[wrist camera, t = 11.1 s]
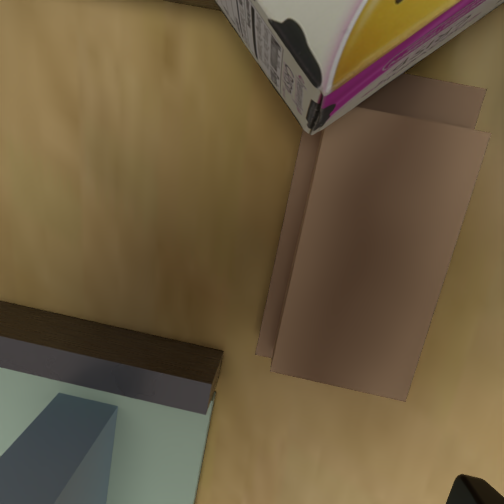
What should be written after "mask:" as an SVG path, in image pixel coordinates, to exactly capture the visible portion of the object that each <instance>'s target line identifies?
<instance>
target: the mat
mask: <svg viewBox="0 0 504 504" xmlns="http://www.w3.org/2000/svg"><path fill="white" fill-rule="evenodd" d="M58 393H63V394H67V395H72V396H76V397H81V398H85V399H89V400H94V401H98V402H102V403H107V404H111V405H115V406H118V411H117V419H116V427H115V436H114V444H113V452H112V460H111V468H110V476H109V484H108V492H107V501H106V504H194V503H195V498H196V493H197V488H198V483H199V477H200V472H201V467H202V462H203V456H204V451H205V446H206V441H207V435H208V430H209V425H210V420H211V415H212V409H213V404H214V399H215V394H216V392H214V393H213V396H212V399H211V402H210V405H209V408H208V411H207V414H206V415H203V414H199V413H195V412H190V411H186V410H182V409H178V408H173V407H169V406H165V405H160V404H156V403H152V402H147V401H143V400H139V399H134V398H130V397H126V396H122V395H117V394H113V393H109V392H104V391H100V390H96V389H91V388H87V387H83V386H78V385H74V384H70V383H66V382H61V381H57V380H53V379H48V378H44V377H40V376H35V375H31V374H27V373H22V372H18V371H14V370H10V369H5V368H1V367H0V457H1V456H2V455H3V453H4V452H5V451H6V450H7V449H8V448H9V447H10V446H11V445H12V444H13V442H14V441H15V440H16V439H17V438H18V437H19V436H20V435H21V434H22V433H23V431H24V430H25V429H26V428H27V427H28V426H29V425H30V424H31V423H32V422H33V421H34V419H35V418H36V417H37V416H38V415H39V414H40V413H41V412H42V411H43V410H44V408H45V407H46V406H47V405H48V404H49V403H50V402H51V401H52V400H53V399H54V398H55V396H56V395H57V394H58Z"/></svg>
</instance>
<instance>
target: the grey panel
mask: <svg viewBox="0 0 504 504" xmlns="http://www.w3.org/2000/svg"><path fill="white" fill-rule="evenodd" d="M117 411H118V406H115V405H111V404H107V403H102V402H98V401H94V400H89V399H85V398H81V397H76V396H72V395H67V394H63V393H58V394H57V395H56V396H55V398H54V399H53V400H52V401H51V402H50V403H49V404H48V405H47V406H46V407H45V408H44V410H43V411H42V412H41V413H40V414H39V415H38V416H37V417H36V418H35V419H34V421H33V422H32V423H31V424H30V425H29V426H28V427H27V428H26V429H25V430H24V431H23V433H22V434H21V435H20V436H19V437H18V438H17V439H16V440H15V441H14V442H13V444H12V445H11V446H10V447H9V448H8V449H7V450H6V451H5V452H4V453H3V455H2V456H1V457H0V504H106V501H107V492H108V484H109V476H110V468H111V460H112V452H113V444H114V436H115V427H116V419H117Z"/></svg>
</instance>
